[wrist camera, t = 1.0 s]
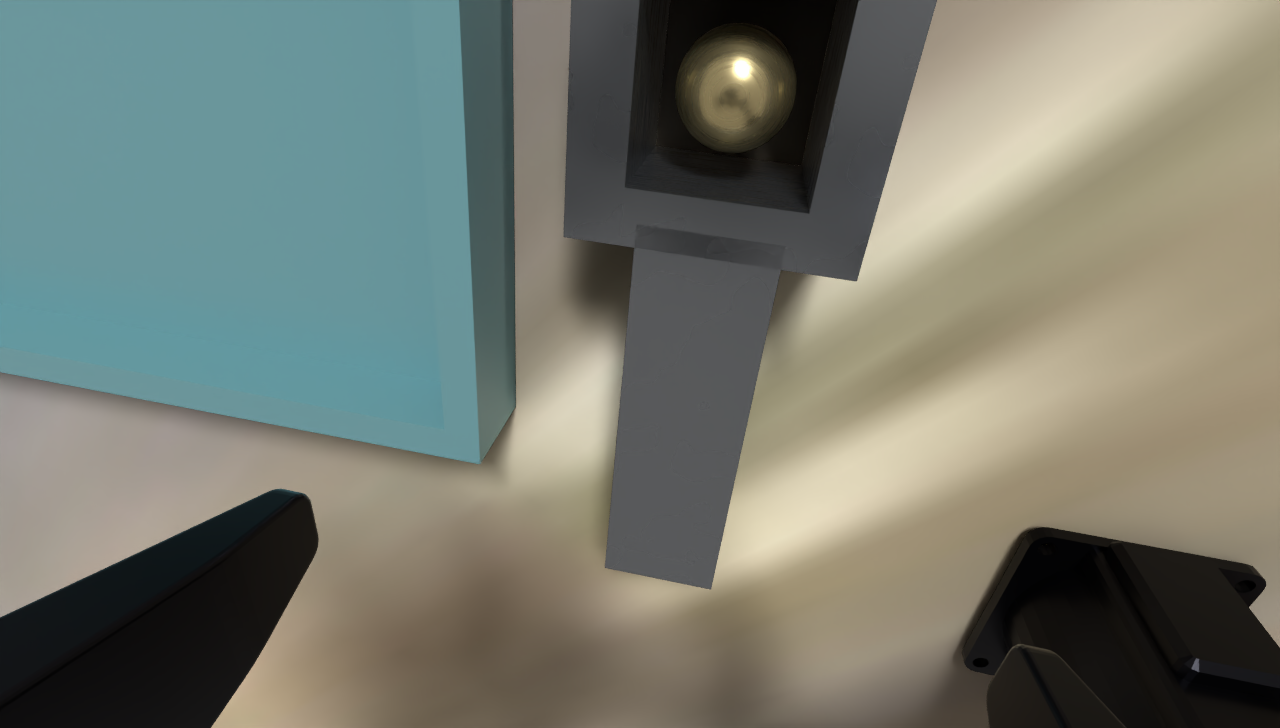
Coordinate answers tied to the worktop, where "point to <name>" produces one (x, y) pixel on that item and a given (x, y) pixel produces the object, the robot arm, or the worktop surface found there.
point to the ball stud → (735, 87)
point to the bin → (265, 210)
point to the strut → (715, 251)
